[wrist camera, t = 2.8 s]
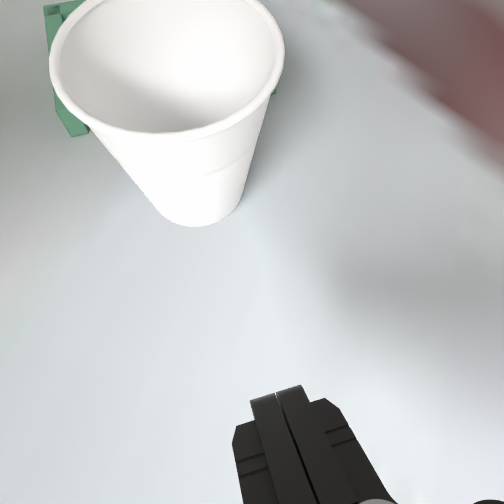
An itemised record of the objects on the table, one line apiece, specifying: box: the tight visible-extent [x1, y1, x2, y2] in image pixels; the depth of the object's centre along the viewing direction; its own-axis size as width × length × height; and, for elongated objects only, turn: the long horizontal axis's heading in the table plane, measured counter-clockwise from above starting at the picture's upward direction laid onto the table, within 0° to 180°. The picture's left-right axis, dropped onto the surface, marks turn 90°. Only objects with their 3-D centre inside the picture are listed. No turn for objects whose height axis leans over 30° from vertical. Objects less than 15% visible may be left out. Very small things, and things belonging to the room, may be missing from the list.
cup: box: [49, 0, 285, 227], centre depth 22 cm, size 10×10×11 cm
